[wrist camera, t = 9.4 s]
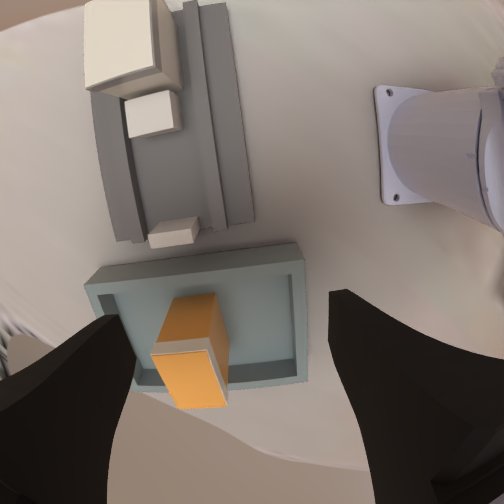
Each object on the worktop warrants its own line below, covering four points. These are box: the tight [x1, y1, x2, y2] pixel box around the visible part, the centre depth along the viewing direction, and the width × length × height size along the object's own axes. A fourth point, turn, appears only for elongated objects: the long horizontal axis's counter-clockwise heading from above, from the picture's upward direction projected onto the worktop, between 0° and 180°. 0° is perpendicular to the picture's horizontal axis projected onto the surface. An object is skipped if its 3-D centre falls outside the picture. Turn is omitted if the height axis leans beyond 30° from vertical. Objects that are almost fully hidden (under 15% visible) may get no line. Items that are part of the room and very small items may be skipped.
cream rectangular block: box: [84, 0, 184, 100], centre depth 11 cm, size 3×5×6 cm
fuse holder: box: [90, 0, 255, 249], centre depth 14 cm, size 9×14×4 cm, turn 7°
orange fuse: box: [150, 292, 230, 409], centre depth 17 cm, size 3×5×6 cm
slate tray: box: [84, 243, 308, 393], centre depth 19 cm, size 14×10×3 cm
